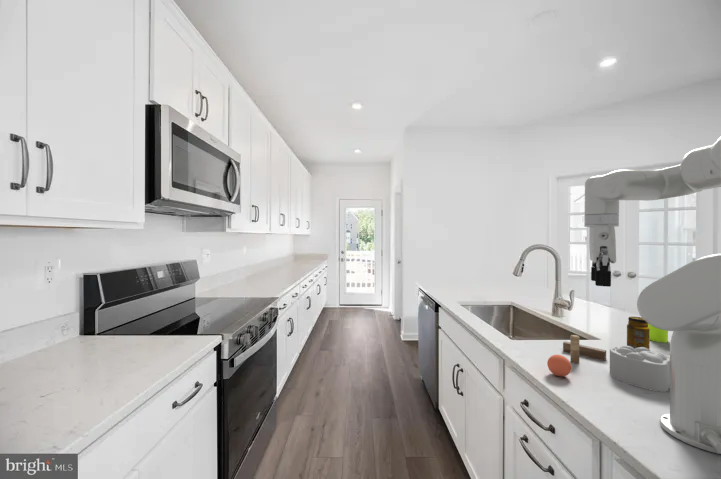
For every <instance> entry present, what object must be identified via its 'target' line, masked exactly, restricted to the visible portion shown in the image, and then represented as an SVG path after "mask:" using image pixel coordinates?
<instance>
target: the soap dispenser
mask: <svg viewBox="0 0 721 479" xmlns="http://www.w3.org/2000/svg"><path fill="white" fill-rule="evenodd" d="M648 327H649V329H650V332H649V333H650V334H649V337H650V338H649V340H650V341H651V342H657V343H667V342H669V341H668V339H669V335H668V333H669V331H666V330H662V329H659V328H656V327H654V326H652V325H650V324H648Z"/></svg>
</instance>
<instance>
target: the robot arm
mask: <svg viewBox="0 0 721 479" xmlns="http://www.w3.org/2000/svg"><path fill="white" fill-rule="evenodd" d="M717 188H721V136H720V137H718V139H717V140H716V141H715V142H714V143H713V144H709V145H706V146H701V147H698V148H695V149H692V150H690V151H689V152H687V153H686V154H685V155H684V156H683V158H682V159H681V162H680V164H677V165H673V166H669V167H665V168H662V169H654V170H651V169H650V170H648V169H647V170H646V169H618V170H617V169H616V170H614V171H611V172H609V173H607V174H602V175H596V176H591V177H589V178H587V179H586V180H585V182H584V224H583V226H584V227H585V228H589V230H588V232H589V235H588V236H589V238H588V239H589V241H588V242H589V245H588V246H589V247H588V248H589V250H588V251H589V259H590V261H591V267H590V280H591V281H592V282H595V283H594V284H595V286H597V287H611V286H612V270H611V264H615V263H617V245H616V244H617V242H616V229H615V228H616V227H620V201H647V202H649V201H656V200H657V201H658V200H664V199H671V198H677V197H683V196H689V195H692V194H696V193H700V192H702V191H705V190H710V189H711V190H712V189H717ZM636 307H637V308H636V309H637V312H638V314H639V317H641V318H643V319H644V320H645V321H646V322H647V323H648V324H650V325H652V326H654V327H656V328H659V329H662V330H666V331H668V332H672V334H671V337H670V341H669V342H670V344H669V358H670V388H669V413H665V414H661V416H660V417H659V425H660V426H661V427H662V429H663V430H664V431H665V432H667V433H668V434H669V435H671V436H672V437H674V438H676V439H677V440H679V441H681V442H683V443H685V444H688V445H690V446H693V447H695V448H698V449H701V450H704V451H707V452H709V453H714V454H718V455H721V253H714V254H710V255H706V256H702V257H699V258H697V259H694V260H693V261H690V262H688V263H686V264H685V265H683V266H681V267H679V268H678V269H675V270H673V271H672V272H670V273H668V274H667V275H664V276H663V277H660V278H659V279H657V280H654V281H653V282H651V283H649V285H647V286H645V287H644V289H642V291H641V292H640V293H639V295H638V297H637V301H636Z"/></svg>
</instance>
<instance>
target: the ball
mask: <svg viewBox="0 0 721 479" xmlns="http://www.w3.org/2000/svg"><path fill="white" fill-rule="evenodd" d="M546 363H547V364H546V365H547V367H548V370H549V372H551V373H552V374H553V375H554V376H557V377H566V376H568V375H569V374H570V373H571V372H572V362H571V361H570V360H569V359H568V358H567V357H566V356H564V355H561V354H553V355H551V356H549V357H548V359H547V362H546Z"/></svg>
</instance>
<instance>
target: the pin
mask: <svg viewBox="0 0 721 479" xmlns="http://www.w3.org/2000/svg"><path fill="white" fill-rule="evenodd" d="M569 337H570V343H571V353H570V363H571V364H577V365H578V364H580V355H579V344H580V336H579V335H576V334H570V336H569Z"/></svg>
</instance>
